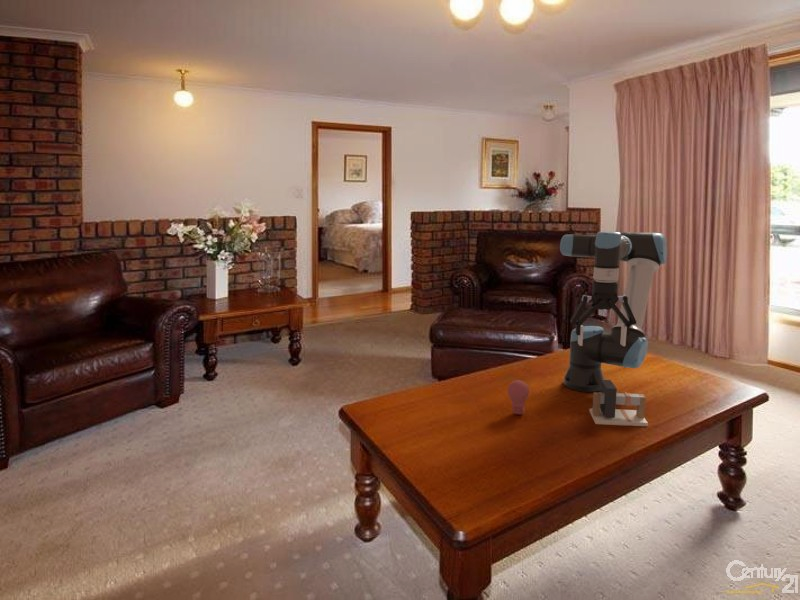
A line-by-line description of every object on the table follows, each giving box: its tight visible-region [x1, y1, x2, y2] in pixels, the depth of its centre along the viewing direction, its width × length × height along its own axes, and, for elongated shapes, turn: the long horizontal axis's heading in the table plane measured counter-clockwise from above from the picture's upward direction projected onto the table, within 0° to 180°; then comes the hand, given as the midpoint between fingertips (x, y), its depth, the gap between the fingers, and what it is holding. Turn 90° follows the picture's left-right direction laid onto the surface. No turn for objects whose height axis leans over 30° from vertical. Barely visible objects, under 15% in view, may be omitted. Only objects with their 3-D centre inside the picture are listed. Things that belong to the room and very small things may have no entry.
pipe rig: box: [589, 391, 649, 427], centre depth 174 cm, size 16×10×9 cm, turn 82°
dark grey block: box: [600, 379, 618, 418], centre depth 174 cm, size 3×8×10 cm, turn 172°
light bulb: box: [507, 379, 530, 415], centre depth 179 cm, size 7×7×12 cm
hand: (601, 345), depth 172 cm, fingers open, 13 cm apart
